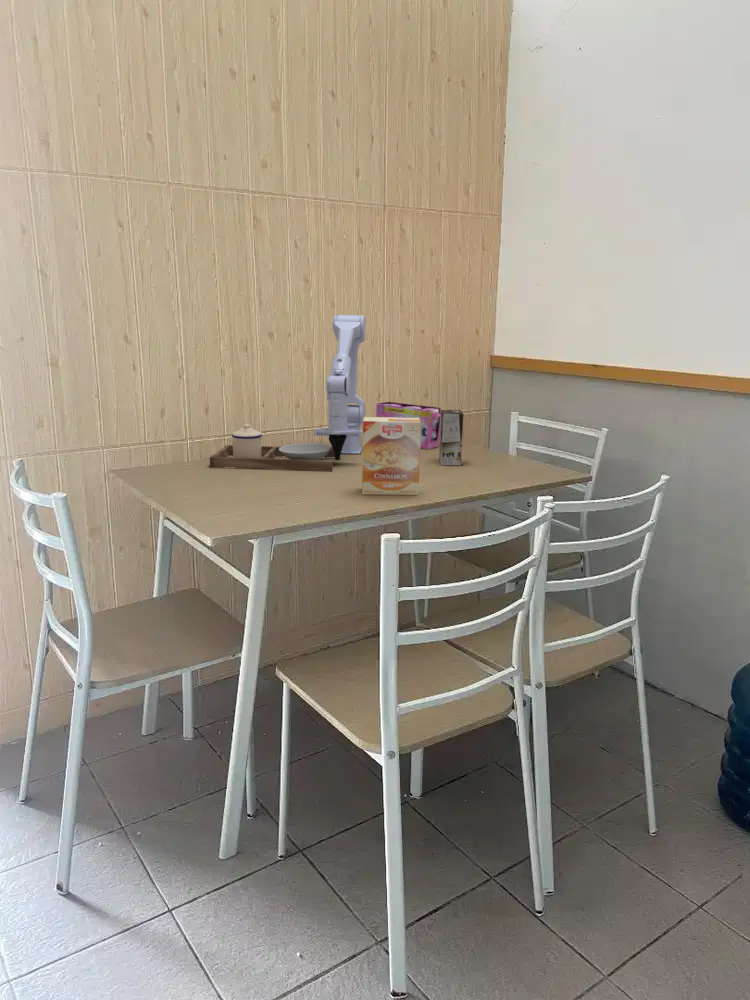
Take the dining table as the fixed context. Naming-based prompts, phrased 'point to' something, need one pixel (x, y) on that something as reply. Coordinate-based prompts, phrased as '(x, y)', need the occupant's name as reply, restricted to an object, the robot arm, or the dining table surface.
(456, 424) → the coffee box
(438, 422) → the gum box
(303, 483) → the dining table surface
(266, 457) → the caddy
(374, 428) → the coffeecake box
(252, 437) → the teacup with lid
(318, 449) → the dish
